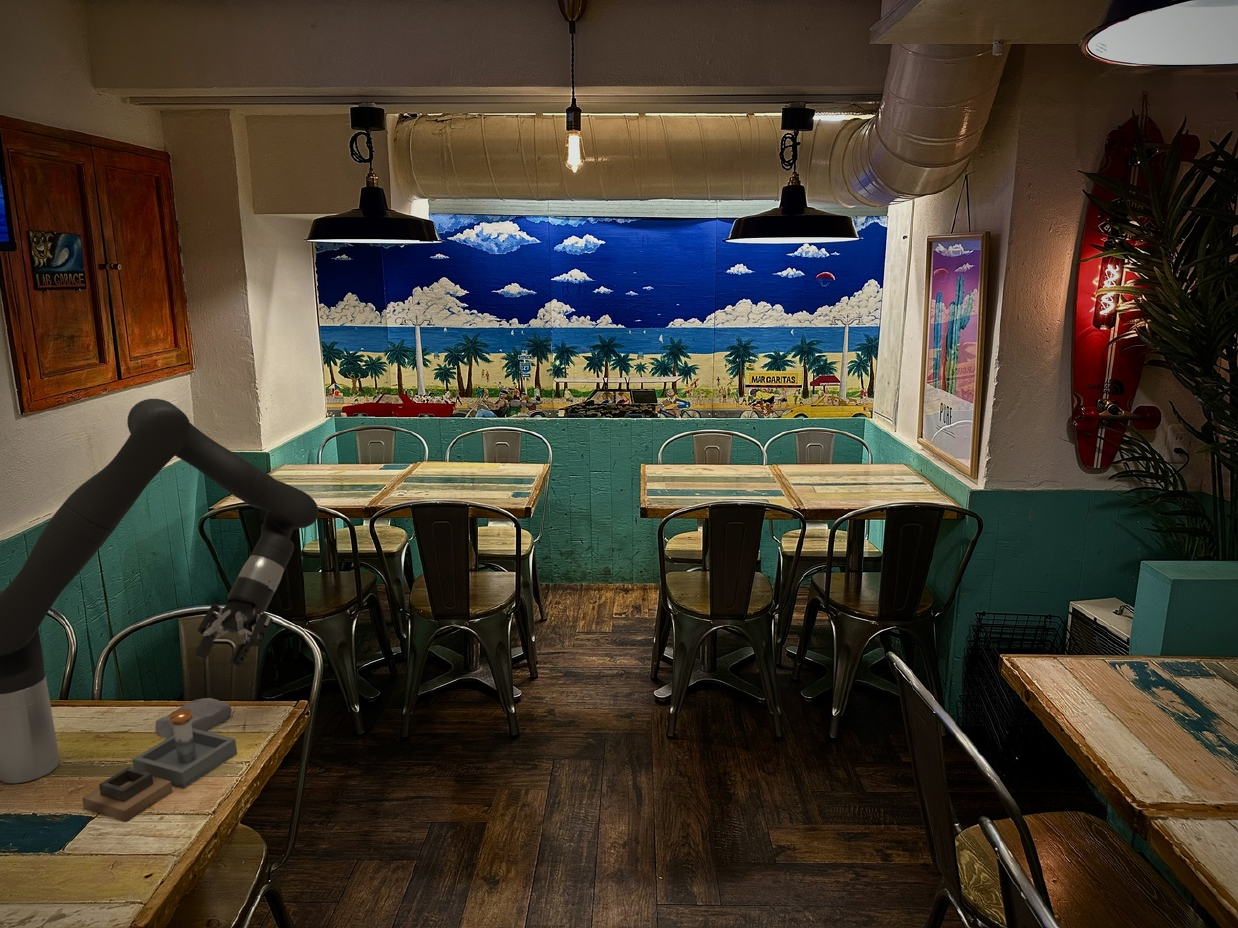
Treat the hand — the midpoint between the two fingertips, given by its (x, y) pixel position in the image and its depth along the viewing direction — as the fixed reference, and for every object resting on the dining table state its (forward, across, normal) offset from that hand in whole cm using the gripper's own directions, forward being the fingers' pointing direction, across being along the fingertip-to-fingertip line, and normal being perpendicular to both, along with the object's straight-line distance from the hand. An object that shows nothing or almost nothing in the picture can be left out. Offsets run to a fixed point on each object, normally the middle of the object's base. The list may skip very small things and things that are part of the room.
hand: (217, 661), depth 164 cm
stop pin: (+17, 0, +5) cm, 18 cm away
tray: (+18, 0, +5) cm, 19 cm away
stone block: (+11, -11, +13) cm, 20 cm away
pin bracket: (+26, 0, -4) cm, 27 cm away
